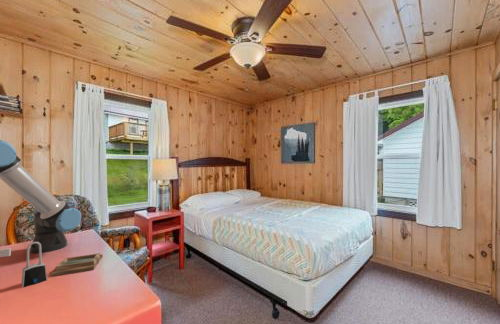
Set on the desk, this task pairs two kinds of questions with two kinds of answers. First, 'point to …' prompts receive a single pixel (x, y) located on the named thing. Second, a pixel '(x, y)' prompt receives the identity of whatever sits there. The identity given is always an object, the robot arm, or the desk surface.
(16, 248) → the desk surface
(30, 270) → the padlock
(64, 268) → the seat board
